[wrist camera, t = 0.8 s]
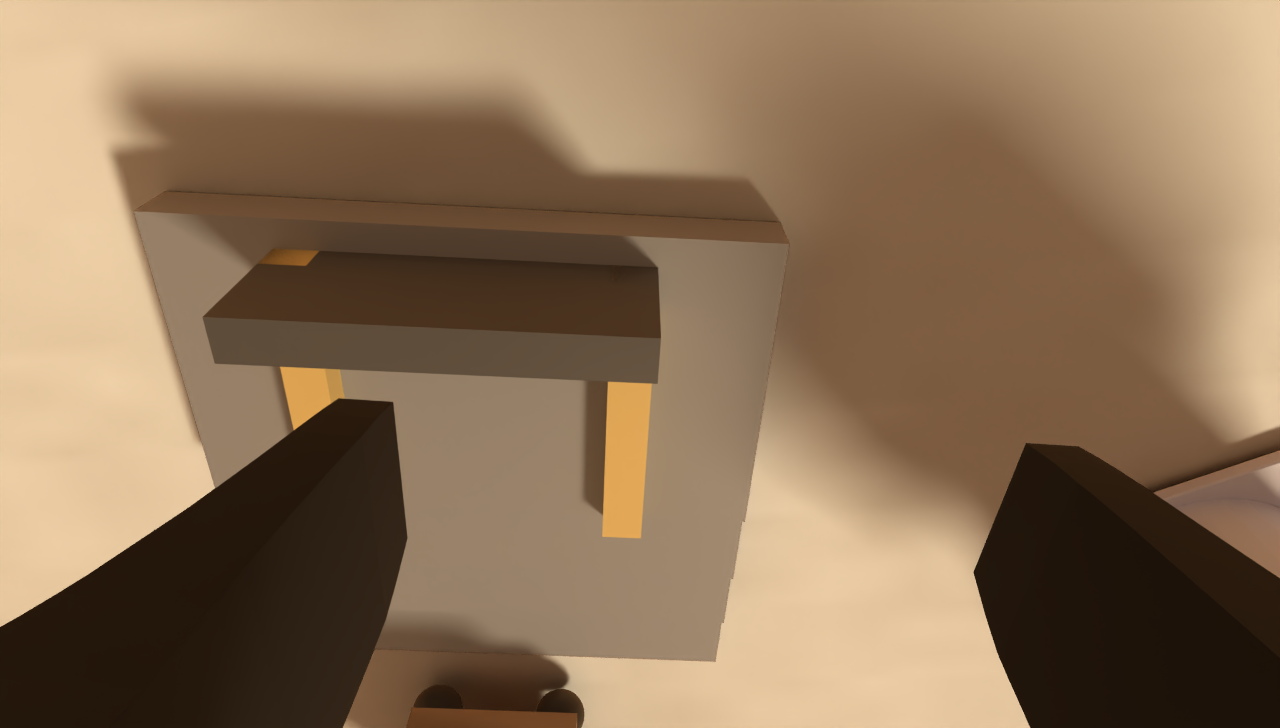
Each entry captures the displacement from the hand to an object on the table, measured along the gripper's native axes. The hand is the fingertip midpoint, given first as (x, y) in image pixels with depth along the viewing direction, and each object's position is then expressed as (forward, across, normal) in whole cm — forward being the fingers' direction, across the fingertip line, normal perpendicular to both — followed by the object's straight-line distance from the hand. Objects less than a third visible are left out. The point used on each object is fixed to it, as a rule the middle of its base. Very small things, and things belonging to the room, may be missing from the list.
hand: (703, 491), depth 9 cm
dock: (+10, +4, +8) cm, 14 cm away
